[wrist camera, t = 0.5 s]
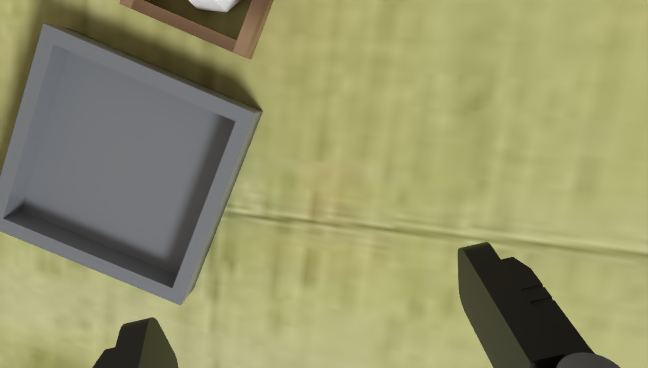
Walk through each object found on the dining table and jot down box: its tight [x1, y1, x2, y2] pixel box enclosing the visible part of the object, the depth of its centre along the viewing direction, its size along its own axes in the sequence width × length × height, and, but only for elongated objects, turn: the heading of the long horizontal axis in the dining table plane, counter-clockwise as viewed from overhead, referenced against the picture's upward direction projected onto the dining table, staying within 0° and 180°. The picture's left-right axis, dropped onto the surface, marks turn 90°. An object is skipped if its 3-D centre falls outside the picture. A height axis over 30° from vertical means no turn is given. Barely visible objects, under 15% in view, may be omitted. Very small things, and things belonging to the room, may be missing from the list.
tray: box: [0, 23, 263, 305], centre depth 35 cm, size 15×15×3 cm
